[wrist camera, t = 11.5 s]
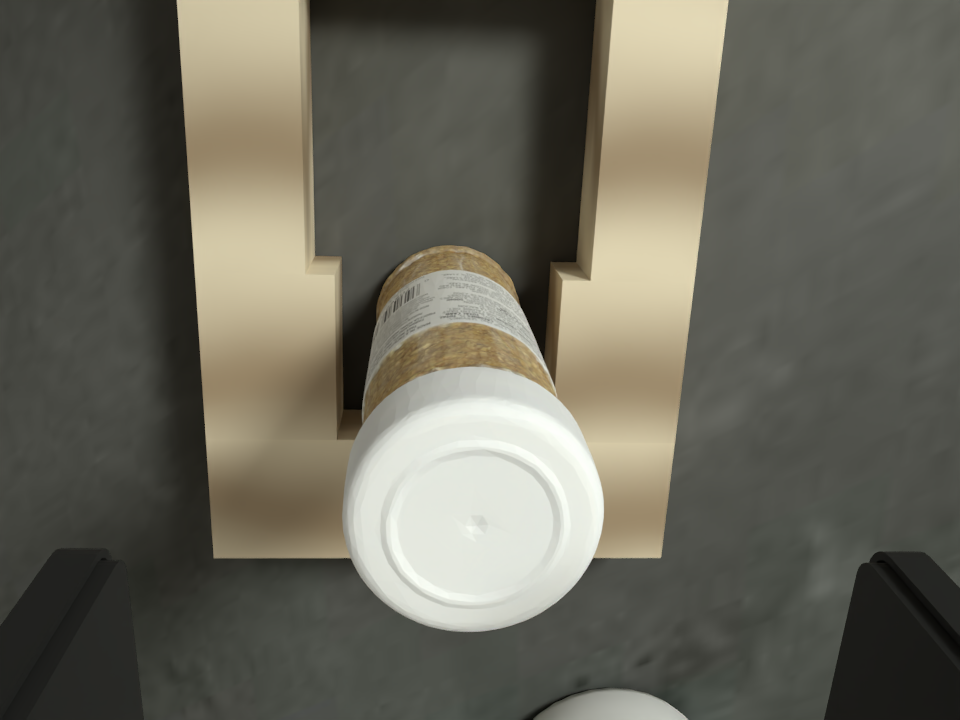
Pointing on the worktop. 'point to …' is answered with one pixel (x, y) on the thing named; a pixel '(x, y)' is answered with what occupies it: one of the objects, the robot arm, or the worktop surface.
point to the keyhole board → (318, 279)
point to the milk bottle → (611, 706)
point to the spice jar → (465, 455)
